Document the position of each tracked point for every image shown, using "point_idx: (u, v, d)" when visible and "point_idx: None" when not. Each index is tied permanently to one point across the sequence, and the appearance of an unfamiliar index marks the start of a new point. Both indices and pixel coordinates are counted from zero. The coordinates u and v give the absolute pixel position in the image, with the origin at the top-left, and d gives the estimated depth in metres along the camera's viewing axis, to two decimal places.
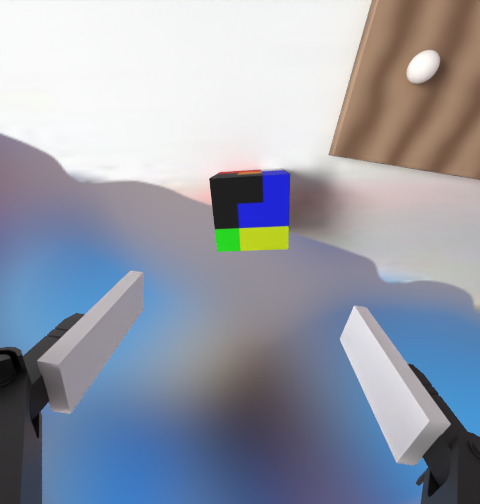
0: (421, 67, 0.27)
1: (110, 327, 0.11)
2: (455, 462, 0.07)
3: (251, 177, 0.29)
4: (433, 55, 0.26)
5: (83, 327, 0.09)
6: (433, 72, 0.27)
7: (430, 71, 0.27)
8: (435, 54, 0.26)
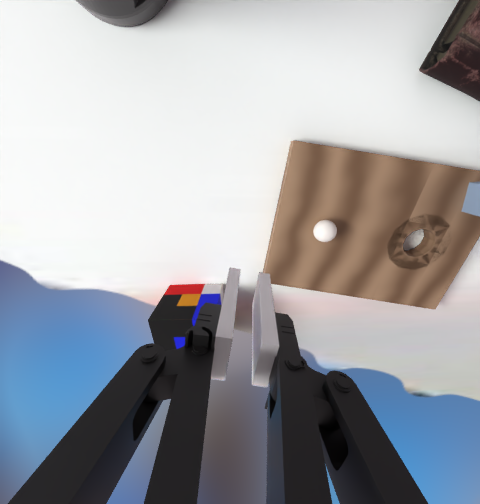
0: (320, 236, 0.32)
1: None
2: (279, 383, 0.09)
3: (182, 320, 0.34)
4: (328, 229, 0.32)
5: (228, 312, 0.12)
6: (331, 239, 0.33)
7: (328, 239, 0.32)
8: (330, 228, 0.32)
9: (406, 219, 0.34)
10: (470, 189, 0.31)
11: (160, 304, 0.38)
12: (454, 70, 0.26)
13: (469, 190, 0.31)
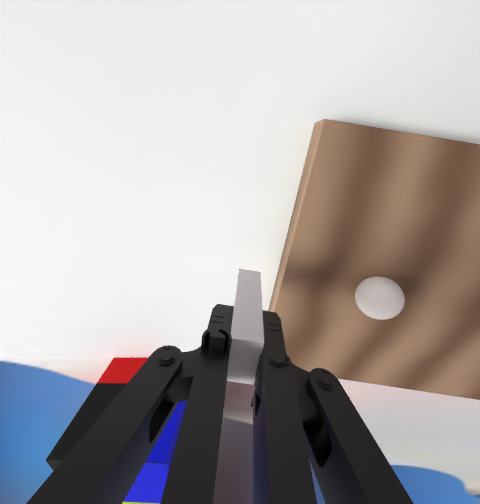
0: (373, 311, 0.16)
1: None
2: (263, 381, 0.09)
3: None
4: (391, 300, 0.16)
5: (242, 314, 0.12)
6: (393, 316, 0.17)
7: (388, 317, 0.16)
8: (395, 299, 0.16)
9: None
10: None
11: (83, 410, 0.22)
12: None
13: None
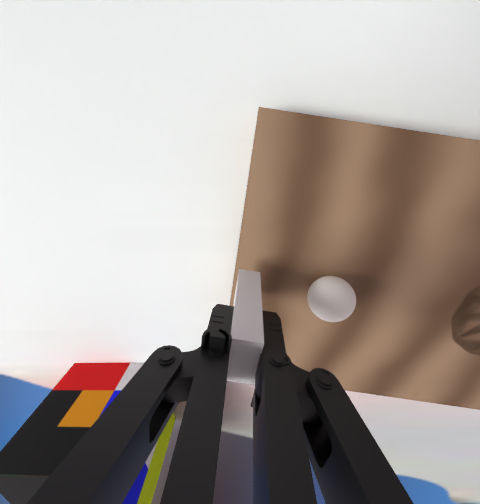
0: (322, 313, 0.15)
1: None
2: (263, 381, 0.09)
3: (47, 477, 0.17)
4: (339, 301, 0.15)
5: (242, 314, 0.12)
6: (344, 319, 0.15)
7: (339, 319, 0.15)
8: (343, 300, 0.15)
9: None
10: None
11: (31, 419, 0.21)
12: None
13: None
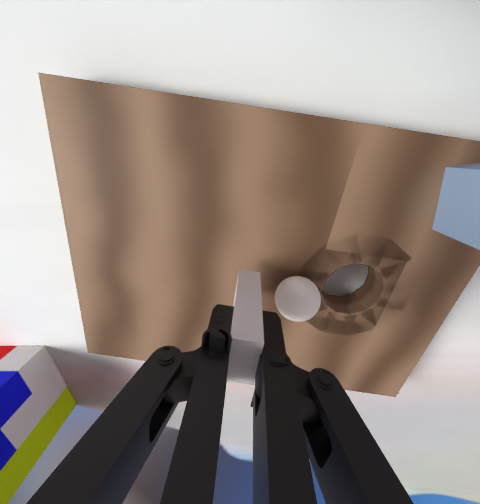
0: (291, 315, 0.15)
1: None
2: (263, 381, 0.09)
3: None
4: (307, 302, 0.15)
5: (242, 314, 0.12)
6: None
7: (307, 318, 0.16)
8: (310, 300, 0.15)
9: (321, 245, 0.16)
10: (448, 181, 0.14)
11: None
12: None
13: (446, 184, 0.14)
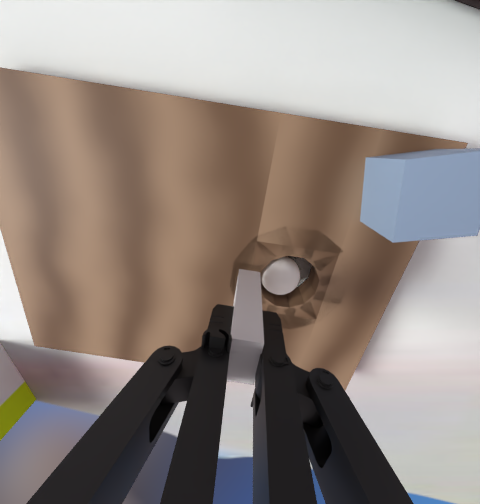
0: None
1: None
2: (263, 381, 0.09)
3: None
4: None
5: (241, 314, 0.12)
6: None
7: None
8: None
9: (252, 237, 0.16)
10: (368, 172, 0.14)
11: None
12: None
13: (366, 175, 0.14)
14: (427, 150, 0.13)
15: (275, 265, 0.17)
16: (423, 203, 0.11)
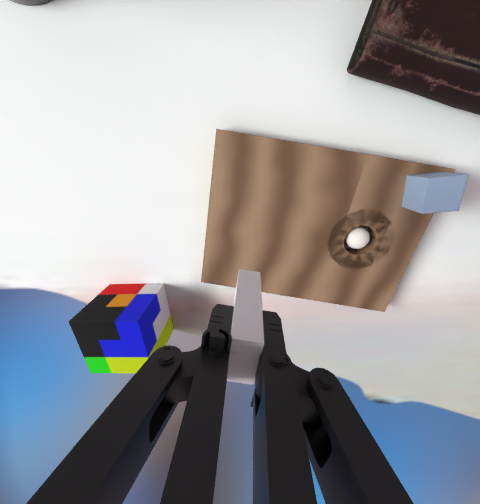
0: None
1: None
2: (263, 381, 0.09)
3: (105, 322, 0.32)
4: None
5: (241, 314, 0.12)
6: (347, 244, 0.34)
7: None
8: None
9: (344, 215, 0.32)
10: (408, 182, 0.29)
11: (89, 304, 0.36)
12: (377, 68, 0.24)
13: (407, 183, 0.29)
14: (436, 172, 0.29)
15: (360, 231, 0.32)
16: (435, 196, 0.26)
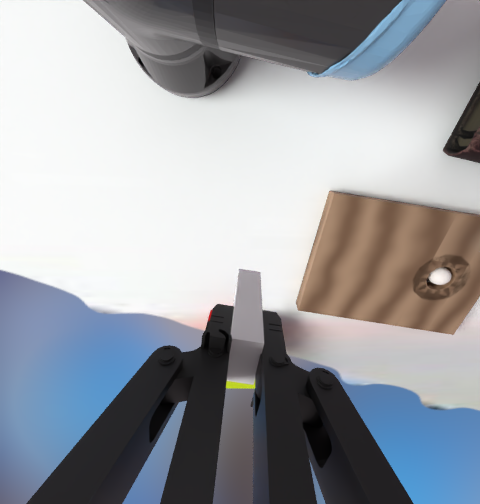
0: None
1: None
2: (263, 382, 0.09)
3: None
4: None
5: (242, 314, 0.12)
6: (429, 280, 0.41)
7: (430, 281, 0.41)
8: None
9: (430, 258, 0.38)
10: None
11: None
12: (476, 155, 0.31)
13: None
14: None
15: (446, 272, 0.39)
16: None
